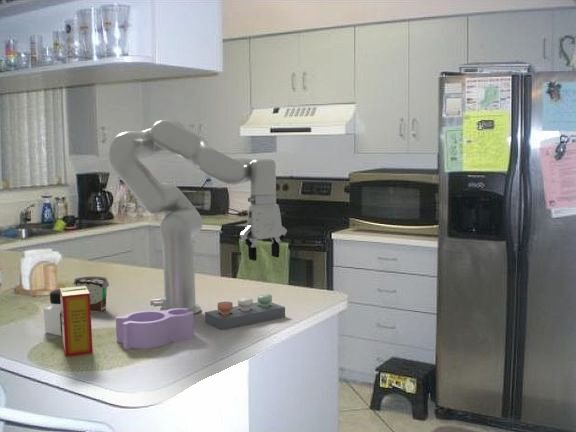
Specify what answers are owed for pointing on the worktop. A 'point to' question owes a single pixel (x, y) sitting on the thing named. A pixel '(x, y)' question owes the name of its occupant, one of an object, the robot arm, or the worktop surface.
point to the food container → (95, 291)
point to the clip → (154, 328)
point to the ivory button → (245, 304)
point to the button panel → (244, 316)
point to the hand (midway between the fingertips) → (264, 258)
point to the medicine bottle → (53, 314)
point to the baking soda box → (76, 320)
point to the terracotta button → (225, 308)
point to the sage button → (264, 300)
